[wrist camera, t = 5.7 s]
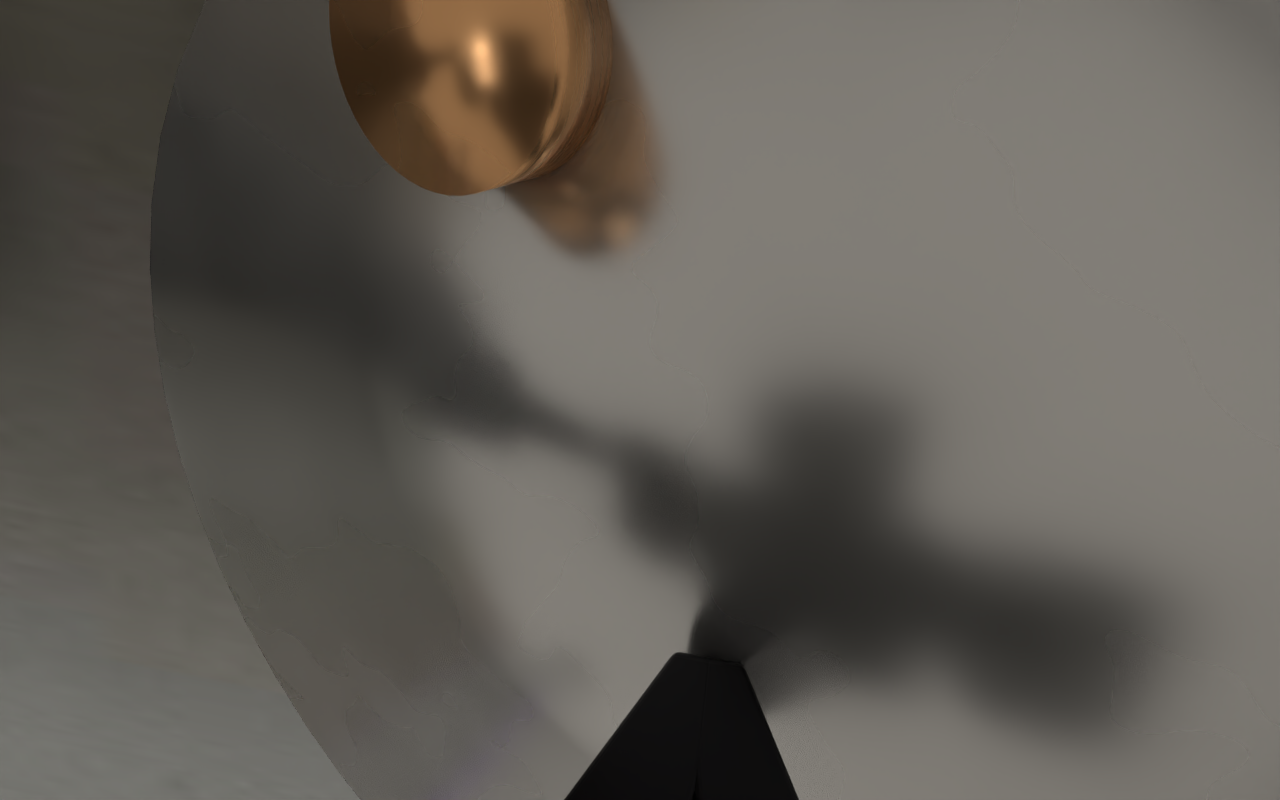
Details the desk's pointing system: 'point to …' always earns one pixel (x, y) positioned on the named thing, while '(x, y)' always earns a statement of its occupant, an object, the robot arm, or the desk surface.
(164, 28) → the desk surface
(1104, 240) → the cooker lid
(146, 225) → the desk surface
